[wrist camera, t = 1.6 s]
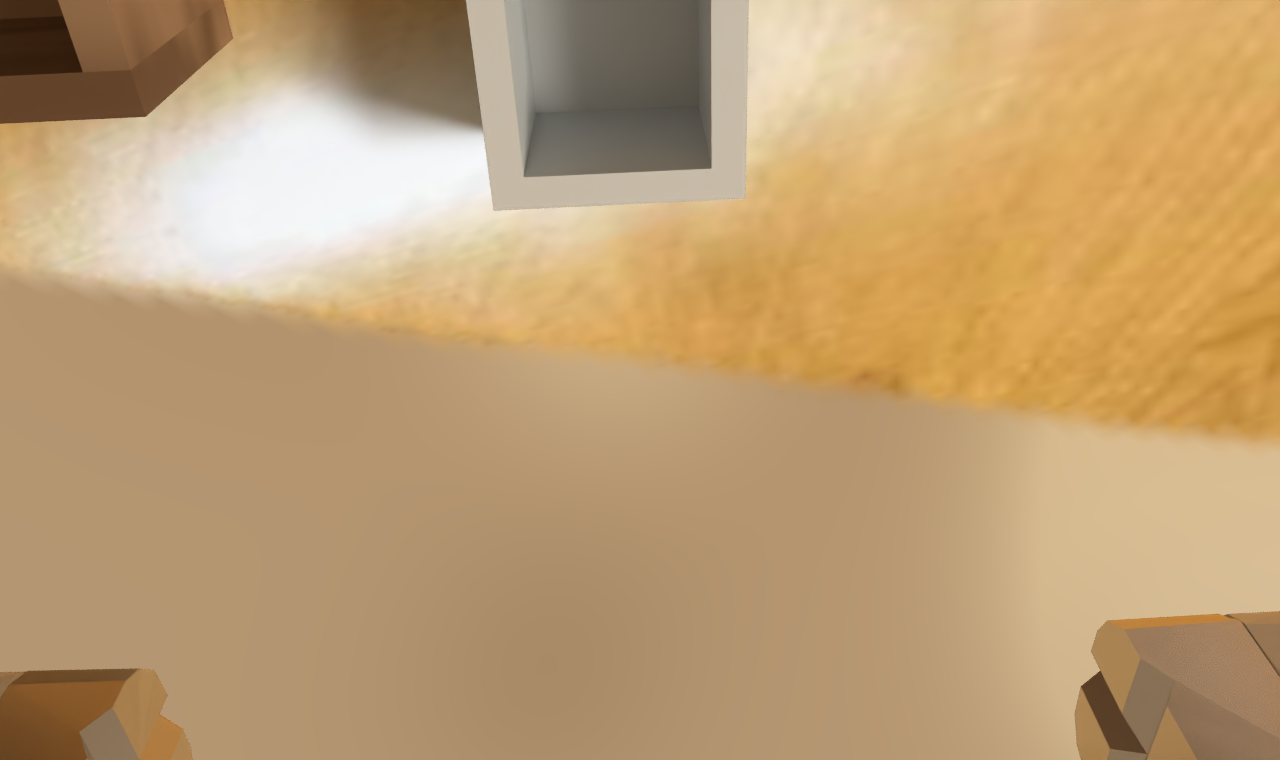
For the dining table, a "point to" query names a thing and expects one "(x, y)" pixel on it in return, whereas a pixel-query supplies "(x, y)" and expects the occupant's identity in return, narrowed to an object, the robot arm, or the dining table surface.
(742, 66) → the box
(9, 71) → the big crate
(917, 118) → the dining table surface
